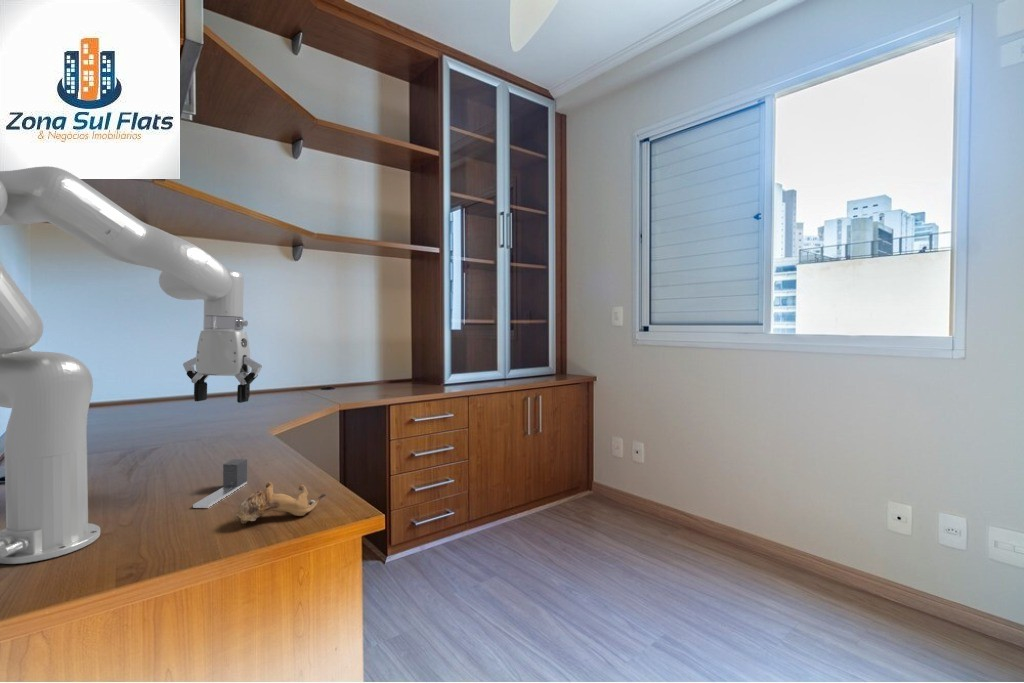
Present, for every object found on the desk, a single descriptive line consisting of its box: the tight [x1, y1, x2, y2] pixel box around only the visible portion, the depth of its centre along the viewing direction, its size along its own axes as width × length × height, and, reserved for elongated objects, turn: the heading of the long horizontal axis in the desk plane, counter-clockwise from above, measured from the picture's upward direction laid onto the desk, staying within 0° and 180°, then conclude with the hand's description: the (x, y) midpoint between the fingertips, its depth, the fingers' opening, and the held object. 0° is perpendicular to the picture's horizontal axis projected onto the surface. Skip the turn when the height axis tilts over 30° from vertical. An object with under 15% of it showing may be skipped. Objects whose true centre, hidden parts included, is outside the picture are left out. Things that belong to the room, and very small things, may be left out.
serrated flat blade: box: [192, 458, 248, 509], centre depth 101 cm, size 14×3×6 cm, turn 1°
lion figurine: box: [235, 481, 327, 525], centre depth 90 cm, size 15×5×9 cm
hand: (221, 401), depth 106 cm, fingers open, 9 cm apart
